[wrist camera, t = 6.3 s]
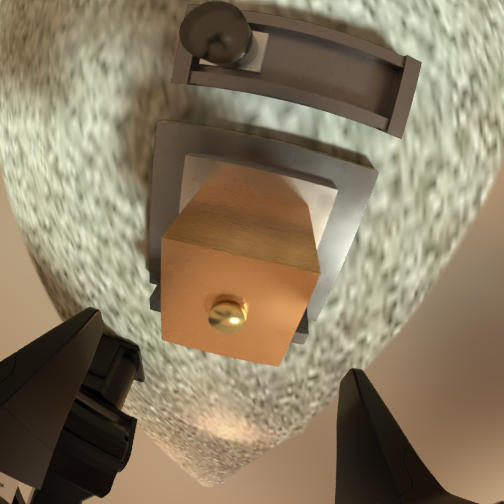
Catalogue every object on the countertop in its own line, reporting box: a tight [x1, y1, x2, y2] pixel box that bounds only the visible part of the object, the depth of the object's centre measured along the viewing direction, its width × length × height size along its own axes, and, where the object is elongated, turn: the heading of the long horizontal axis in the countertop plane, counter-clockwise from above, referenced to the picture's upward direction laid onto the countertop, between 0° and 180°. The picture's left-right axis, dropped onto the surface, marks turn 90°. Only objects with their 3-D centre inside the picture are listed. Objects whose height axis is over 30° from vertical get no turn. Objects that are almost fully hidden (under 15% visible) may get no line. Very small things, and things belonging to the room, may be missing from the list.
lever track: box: [171, 4, 422, 139], centre depth 11 cm, size 4×11×2 cm, turn 78°
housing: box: [161, 182, 321, 366], centre depth 13 cm, size 6×6×6 cm
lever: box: [180, 2, 269, 74], centre depth 9 cm, size 2×3×5 cm
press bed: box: [149, 120, 379, 344], centre depth 16 cm, size 11×12×3 cm
